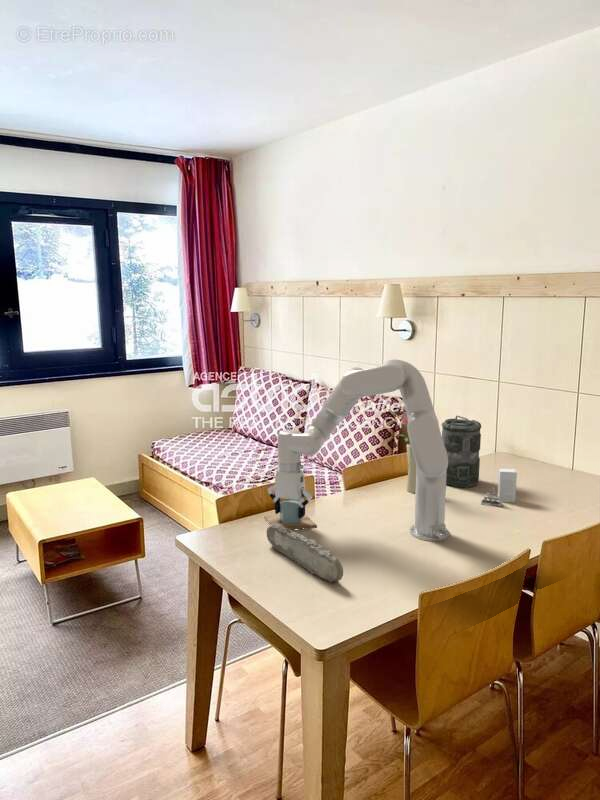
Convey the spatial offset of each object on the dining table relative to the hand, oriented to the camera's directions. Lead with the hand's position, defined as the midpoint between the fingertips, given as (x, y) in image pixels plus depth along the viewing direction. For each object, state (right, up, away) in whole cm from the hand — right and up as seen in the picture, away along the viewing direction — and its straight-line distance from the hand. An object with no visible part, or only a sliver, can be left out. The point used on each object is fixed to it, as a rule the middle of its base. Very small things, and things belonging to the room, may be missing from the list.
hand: (289, 514), depth 200 cm
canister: (+70, +5, +43) cm, 82 cm away
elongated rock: (+4, -10, -30) cm, 32 cm away
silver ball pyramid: (+77, 0, +19) cm, 79 cm away
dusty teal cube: (0, -2, 0) cm, 2 cm away
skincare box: (+82, +1, +22) cm, 85 cm away
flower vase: (+46, +2, +31) cm, 56 cm away
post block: (0, -4, +1) cm, 4 cm away
